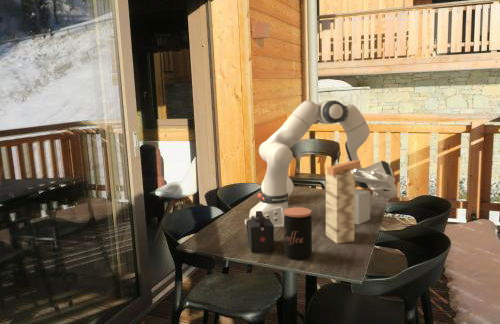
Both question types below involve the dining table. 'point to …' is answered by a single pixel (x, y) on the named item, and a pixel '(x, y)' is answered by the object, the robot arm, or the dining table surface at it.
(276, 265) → the dining table surface
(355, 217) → the step
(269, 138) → the robot arm
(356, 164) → the block
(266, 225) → the camera
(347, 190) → the stand
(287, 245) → the coffee jar
